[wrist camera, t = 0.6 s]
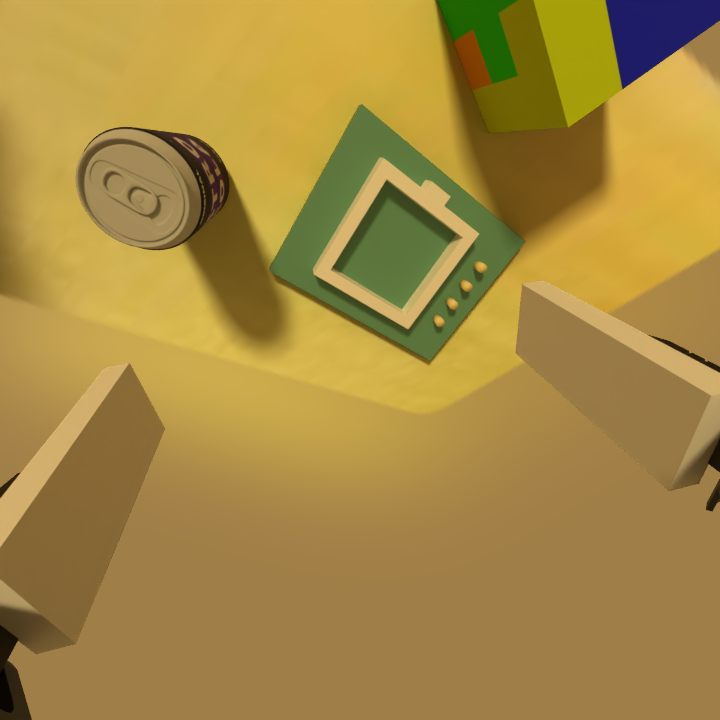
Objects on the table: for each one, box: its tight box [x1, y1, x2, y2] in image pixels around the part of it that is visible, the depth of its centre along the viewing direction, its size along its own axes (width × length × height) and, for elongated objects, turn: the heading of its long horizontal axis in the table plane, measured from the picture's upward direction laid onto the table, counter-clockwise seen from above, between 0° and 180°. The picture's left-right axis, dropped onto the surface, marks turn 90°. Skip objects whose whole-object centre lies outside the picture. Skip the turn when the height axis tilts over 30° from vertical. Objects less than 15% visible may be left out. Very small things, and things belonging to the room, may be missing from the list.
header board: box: [269, 104, 525, 360], centre depth 32 cm, size 18×14×3 cm
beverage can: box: [76, 127, 229, 250], centre depth 23 cm, size 6×6×12 cm
